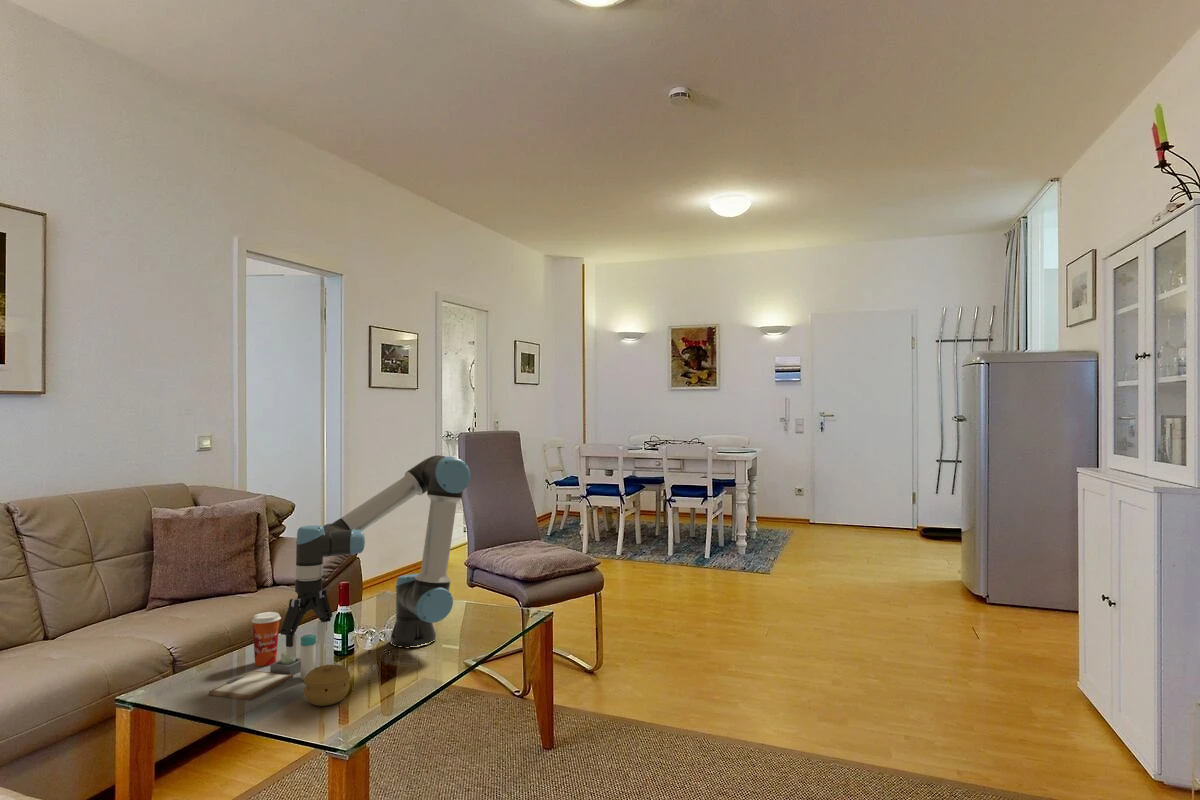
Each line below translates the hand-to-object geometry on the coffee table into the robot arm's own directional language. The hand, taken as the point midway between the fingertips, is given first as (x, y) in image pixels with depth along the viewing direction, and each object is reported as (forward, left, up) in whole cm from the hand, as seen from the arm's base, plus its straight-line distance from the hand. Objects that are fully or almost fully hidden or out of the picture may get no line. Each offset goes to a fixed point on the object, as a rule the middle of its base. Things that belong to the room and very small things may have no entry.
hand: (306, 650), depth 207 cm
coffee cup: (+21, -7, -8) cm, 23 cm away
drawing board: (+11, +10, -8) cm, 17 cm away
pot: (-17, +14, -8) cm, 24 cm away
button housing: (+9, -3, -8) cm, 12 cm away
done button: (+9, -3, -6) cm, 11 cm away
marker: (0, 0, -8) cm, 8 cm away
